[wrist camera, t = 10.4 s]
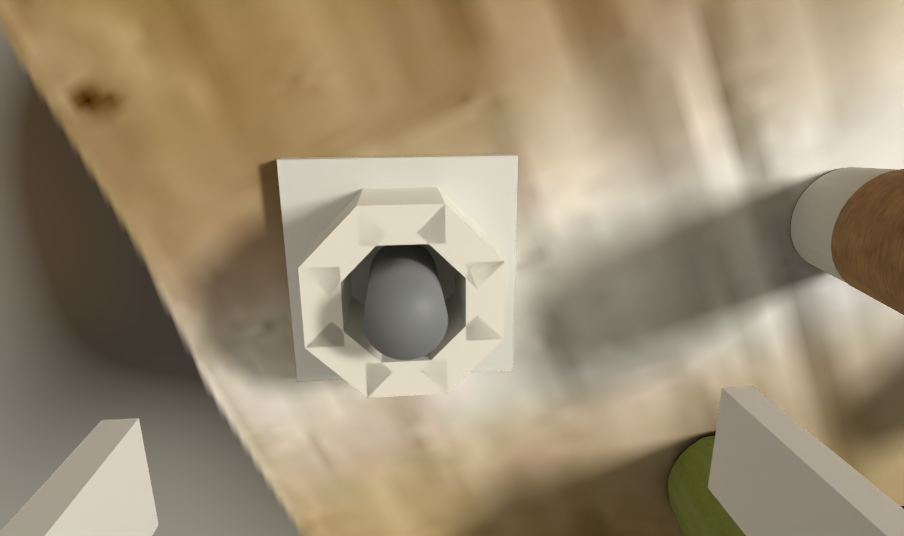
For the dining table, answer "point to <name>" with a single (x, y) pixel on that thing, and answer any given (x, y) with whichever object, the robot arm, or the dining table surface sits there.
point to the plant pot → (698, 494)
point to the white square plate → (399, 247)
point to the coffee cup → (855, 230)
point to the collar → (341, 315)
